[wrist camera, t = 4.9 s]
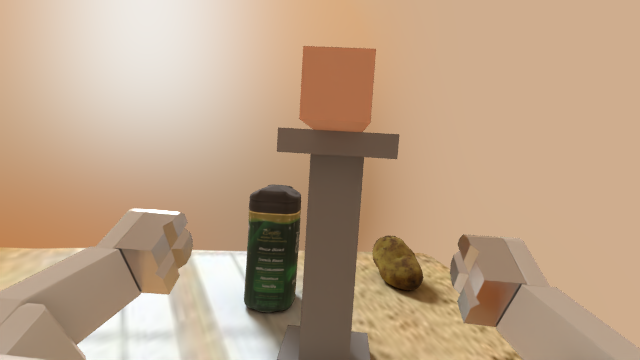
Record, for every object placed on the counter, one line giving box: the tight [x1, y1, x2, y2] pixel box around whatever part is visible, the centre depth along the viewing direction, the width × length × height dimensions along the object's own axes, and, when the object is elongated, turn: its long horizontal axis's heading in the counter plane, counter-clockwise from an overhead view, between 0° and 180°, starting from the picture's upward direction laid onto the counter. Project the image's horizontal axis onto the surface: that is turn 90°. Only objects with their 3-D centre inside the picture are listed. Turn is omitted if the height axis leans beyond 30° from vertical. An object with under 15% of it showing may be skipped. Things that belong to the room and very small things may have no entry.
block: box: [299, 46, 376, 132], centre depth 29 cm, size 22×4×4 cm, turn 176°
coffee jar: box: [244, 185, 301, 312], centre depth 51 cm, size 10×8×19 cm
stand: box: [277, 128, 399, 360], centre depth 34 cm, size 12×10×26 cm
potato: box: [373, 236, 423, 291], centre depth 63 cm, size 8×13×8 cm, turn 178°
